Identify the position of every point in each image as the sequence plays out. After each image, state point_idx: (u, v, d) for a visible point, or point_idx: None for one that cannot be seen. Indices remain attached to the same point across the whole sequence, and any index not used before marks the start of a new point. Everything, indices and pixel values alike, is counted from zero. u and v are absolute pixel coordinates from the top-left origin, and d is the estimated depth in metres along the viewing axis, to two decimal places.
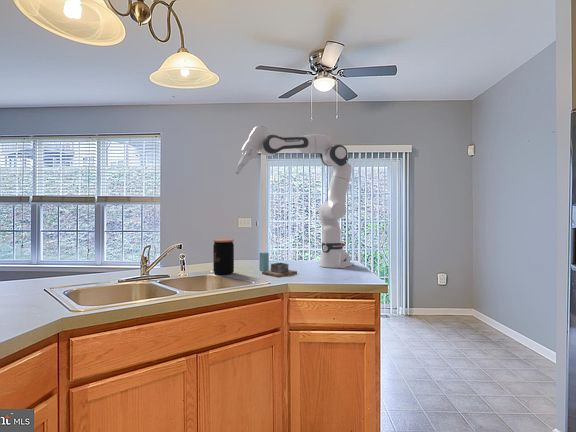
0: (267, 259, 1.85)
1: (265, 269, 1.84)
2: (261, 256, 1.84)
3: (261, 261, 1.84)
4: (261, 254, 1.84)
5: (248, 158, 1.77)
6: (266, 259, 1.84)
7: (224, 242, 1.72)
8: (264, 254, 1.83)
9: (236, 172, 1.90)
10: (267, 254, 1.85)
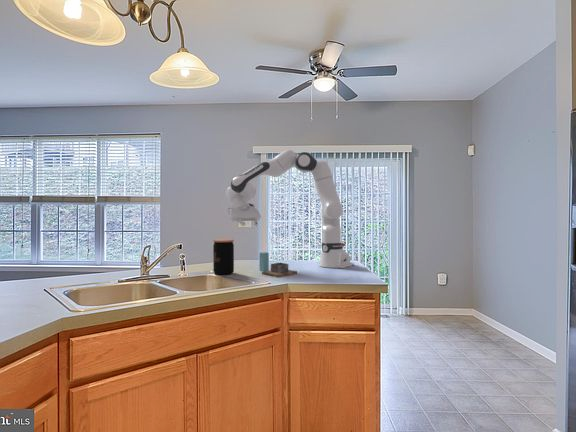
0: (267, 259, 1.85)
1: (265, 269, 1.84)
2: (261, 256, 1.84)
3: (261, 261, 1.84)
4: (261, 254, 1.84)
5: (231, 213, 1.91)
6: (266, 259, 1.84)
7: (224, 242, 1.72)
8: (264, 254, 1.83)
9: (255, 224, 1.98)
10: (267, 254, 1.85)
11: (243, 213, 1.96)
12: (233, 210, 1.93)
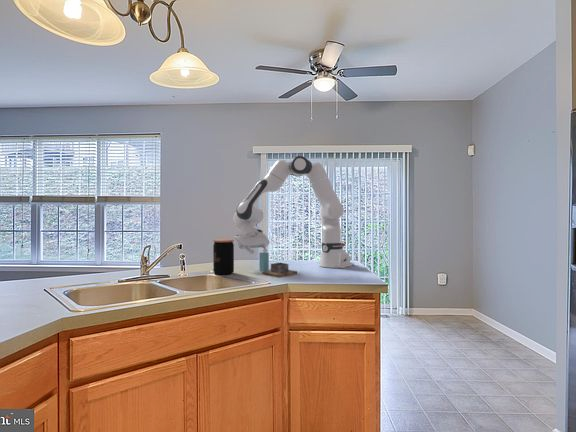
0: (267, 259, 1.85)
1: (265, 269, 1.84)
2: (261, 256, 1.84)
3: (261, 261, 1.84)
4: (261, 254, 1.84)
5: (239, 241, 1.86)
6: (266, 259, 1.84)
7: (224, 242, 1.72)
8: (264, 254, 1.83)
9: (263, 251, 1.92)
10: (267, 254, 1.85)
11: (251, 239, 1.90)
12: (241, 237, 1.87)
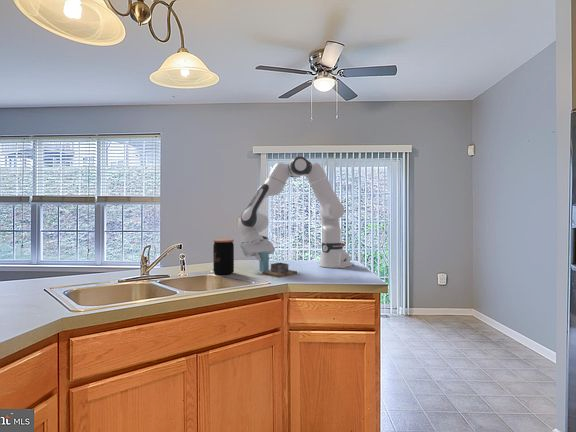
0: (267, 259, 1.85)
1: (265, 269, 1.84)
2: (261, 256, 1.84)
3: (261, 261, 1.84)
4: (261, 254, 1.84)
5: (244, 249, 1.82)
6: (266, 259, 1.84)
7: (224, 242, 1.72)
8: (264, 254, 1.83)
9: None
10: (267, 254, 1.85)
11: (257, 247, 1.87)
12: (246, 245, 1.84)
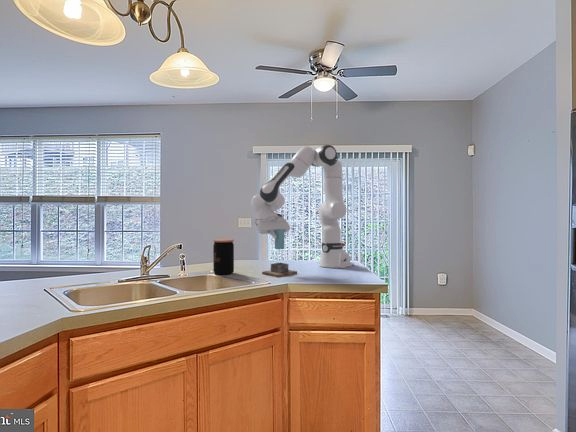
0: (283, 237, 1.75)
1: (281, 247, 1.74)
2: (276, 233, 1.74)
3: (276, 239, 1.75)
4: (276, 231, 1.74)
5: (259, 225, 1.72)
6: (282, 236, 1.75)
7: (224, 242, 1.72)
8: (280, 231, 1.74)
9: None
10: (283, 231, 1.75)
11: (272, 224, 1.77)
12: (261, 221, 1.74)
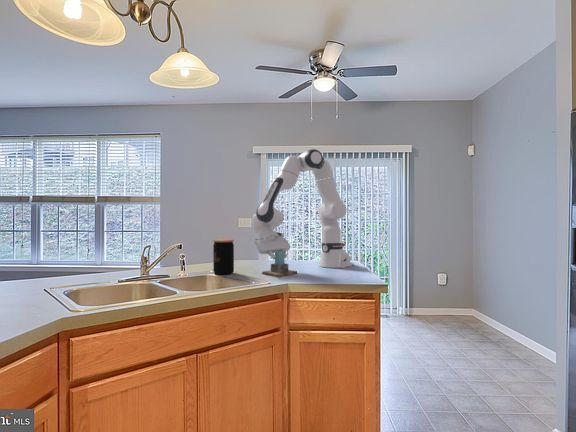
0: (283, 259, 1.75)
1: None
2: (277, 256, 1.75)
3: (276, 262, 1.75)
4: (277, 254, 1.75)
5: (259, 245, 1.72)
6: (282, 259, 1.75)
7: (224, 242, 1.72)
8: (280, 254, 1.74)
9: None
10: (283, 254, 1.75)
11: (272, 244, 1.77)
12: (261, 242, 1.74)
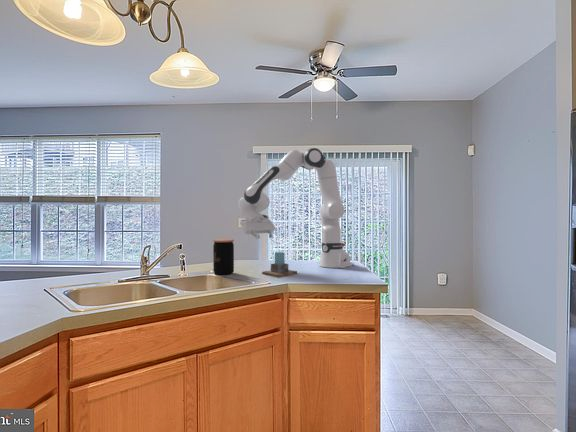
0: (283, 259, 1.75)
1: None
2: (277, 256, 1.75)
3: (276, 262, 1.75)
4: (277, 254, 1.75)
5: (245, 226, 1.81)
6: (282, 259, 1.75)
7: (224, 242, 1.72)
8: (280, 254, 1.74)
9: (269, 237, 1.88)
10: (283, 254, 1.75)
11: (257, 225, 1.86)
12: (247, 222, 1.83)
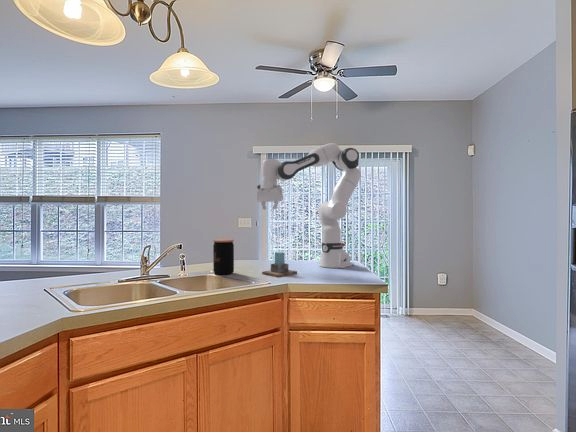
0: (283, 259, 1.75)
1: None
2: (277, 256, 1.75)
3: (276, 262, 1.75)
4: (277, 254, 1.75)
5: (281, 194, 1.89)
6: (282, 259, 1.75)
7: (224, 242, 1.72)
8: (280, 254, 1.74)
9: (264, 208, 1.98)
10: (283, 254, 1.75)
11: None
12: None
